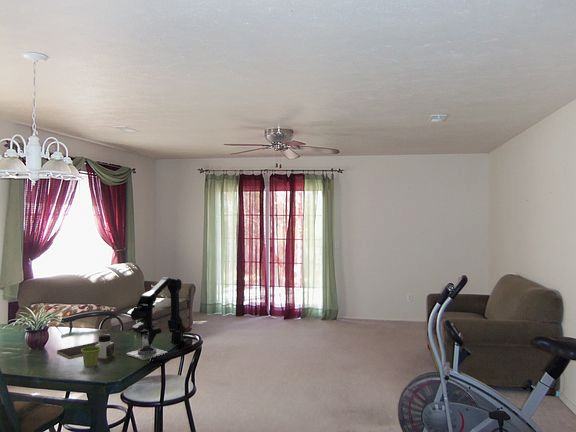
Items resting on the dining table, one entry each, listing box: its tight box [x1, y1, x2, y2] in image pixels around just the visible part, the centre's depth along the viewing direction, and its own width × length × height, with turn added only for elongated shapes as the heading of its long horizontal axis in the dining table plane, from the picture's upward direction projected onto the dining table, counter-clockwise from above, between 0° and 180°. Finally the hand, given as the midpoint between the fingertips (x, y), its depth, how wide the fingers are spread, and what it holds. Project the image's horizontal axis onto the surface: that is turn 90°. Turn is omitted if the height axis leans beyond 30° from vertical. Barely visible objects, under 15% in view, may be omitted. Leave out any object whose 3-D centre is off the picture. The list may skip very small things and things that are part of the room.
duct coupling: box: [141, 333, 153, 349], centre depth 254 cm, size 5×5×8 cm
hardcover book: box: [56, 341, 99, 359], centre depth 260 cm, size 16×23×2 cm
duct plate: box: [126, 346, 169, 361], centre depth 254 cm, size 16×16×2 cm
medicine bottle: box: [95, 333, 115, 359], centre depth 250 cm, size 7×7×12 cm
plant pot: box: [81, 347, 101, 368], centre depth 234 cm, size 9×9×9 cm
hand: (147, 344), depth 254 cm, fingers closed on duct coupling, 5 cm apart
